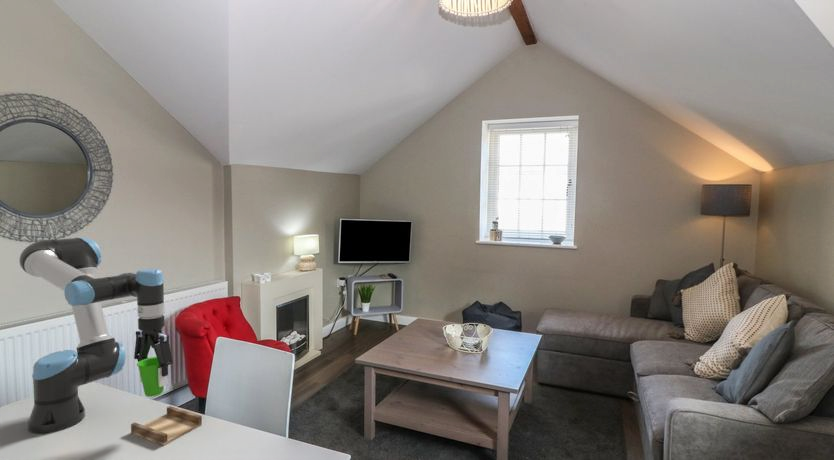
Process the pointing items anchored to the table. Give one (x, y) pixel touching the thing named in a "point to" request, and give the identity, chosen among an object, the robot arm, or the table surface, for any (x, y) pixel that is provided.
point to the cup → (150, 376)
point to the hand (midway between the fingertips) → (154, 382)
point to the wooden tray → (168, 426)
